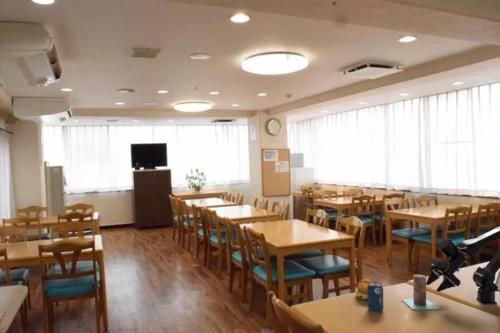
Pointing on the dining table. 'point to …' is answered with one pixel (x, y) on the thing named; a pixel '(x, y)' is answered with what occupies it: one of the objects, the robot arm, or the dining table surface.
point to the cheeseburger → (362, 289)
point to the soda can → (375, 296)
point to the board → (415, 307)
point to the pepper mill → (419, 290)
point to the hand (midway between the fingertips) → (431, 287)
